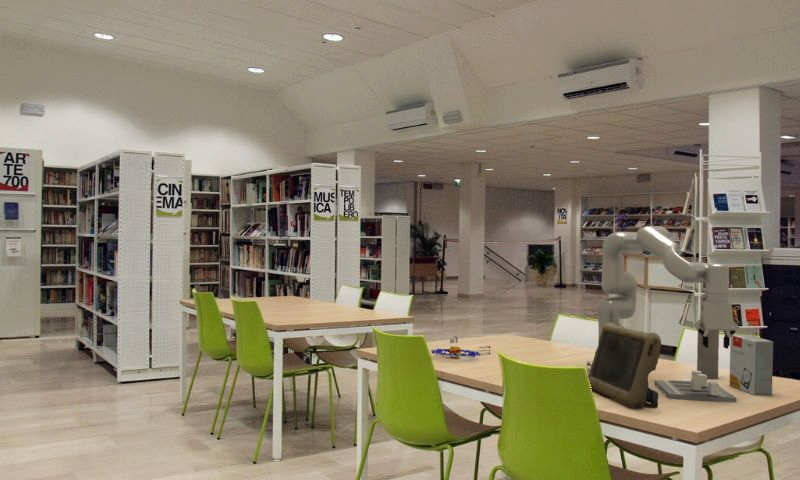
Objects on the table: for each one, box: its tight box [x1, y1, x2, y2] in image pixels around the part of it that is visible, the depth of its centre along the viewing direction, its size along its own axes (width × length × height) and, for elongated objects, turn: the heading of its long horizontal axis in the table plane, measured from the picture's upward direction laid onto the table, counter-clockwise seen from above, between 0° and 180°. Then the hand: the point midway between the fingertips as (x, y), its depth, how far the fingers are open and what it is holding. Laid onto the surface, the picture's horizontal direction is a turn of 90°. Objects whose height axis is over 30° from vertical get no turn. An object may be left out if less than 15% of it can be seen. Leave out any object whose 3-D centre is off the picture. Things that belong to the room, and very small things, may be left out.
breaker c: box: [697, 374, 708, 387], centre depth 243 cm, size 3×3×4 cm
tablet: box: [587, 322, 662, 410], centre depth 231 cm, size 33×14×25 cm, turn 16°
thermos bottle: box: [696, 316, 720, 380], centre depth 270 cm, size 8×8×28 cm
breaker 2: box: [708, 381, 720, 396], centre depth 229 cm, size 3×3×4 cm
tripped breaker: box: [690, 376, 701, 390], centre depth 237 cm, size 3×3×4 cm
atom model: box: [428, 335, 492, 360], centre depth 304 cm, size 35×26×10 cm
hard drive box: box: [729, 334, 774, 396], centre depth 246 cm, size 16×8×20 cm, turn 5°
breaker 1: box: [691, 370, 702, 377], centre depth 250 cm, size 3×3×4 cm
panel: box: [654, 379, 737, 403], centre depth 240 cm, size 22×25×2 cm
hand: (715, 347), depth 236 cm, fingers open, 6 cm apart
